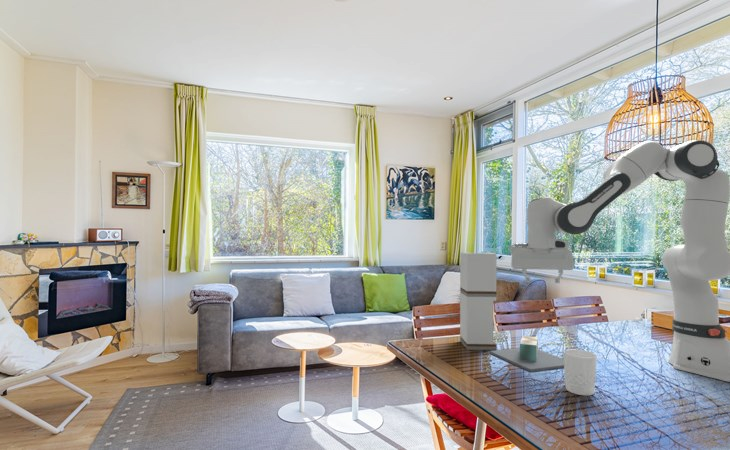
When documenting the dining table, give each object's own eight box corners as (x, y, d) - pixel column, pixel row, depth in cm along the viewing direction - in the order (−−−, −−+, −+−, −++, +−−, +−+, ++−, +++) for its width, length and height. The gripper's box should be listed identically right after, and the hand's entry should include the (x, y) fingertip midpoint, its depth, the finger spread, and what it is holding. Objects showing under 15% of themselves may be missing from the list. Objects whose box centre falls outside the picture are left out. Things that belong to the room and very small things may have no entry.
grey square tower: (496, 350, 143) (496, 253, 144) (467, 349, 144) (467, 253, 145) (487, 341, 155) (487, 252, 156) (460, 341, 155) (460, 252, 156)
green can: (537, 337, 139) (536, 345, 128) (537, 351, 139) (536, 361, 128) (522, 335, 141) (519, 343, 130) (522, 349, 141) (519, 359, 130)
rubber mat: (576, 366, 126) (576, 363, 126) (530, 371, 120) (530, 369, 120) (531, 349, 145) (531, 346, 145) (489, 353, 139) (489, 351, 139)
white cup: (567, 383, 111) (566, 347, 112) (599, 390, 106) (599, 352, 107) (560, 391, 105) (559, 353, 105) (593, 399, 100) (593, 359, 100)
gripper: (509, 243, 141) (510, 282, 140) (573, 243, 132) (575, 284, 132) (510, 243, 146) (511, 280, 146) (573, 242, 138) (574, 282, 137)
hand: (542, 282), depth 139 cm, fingers open, 8 cm apart
